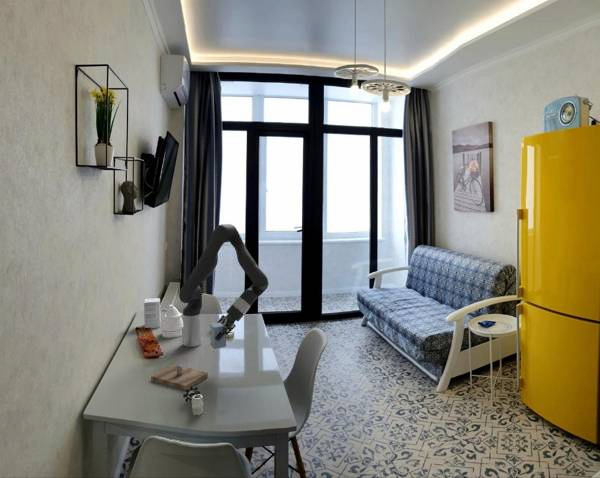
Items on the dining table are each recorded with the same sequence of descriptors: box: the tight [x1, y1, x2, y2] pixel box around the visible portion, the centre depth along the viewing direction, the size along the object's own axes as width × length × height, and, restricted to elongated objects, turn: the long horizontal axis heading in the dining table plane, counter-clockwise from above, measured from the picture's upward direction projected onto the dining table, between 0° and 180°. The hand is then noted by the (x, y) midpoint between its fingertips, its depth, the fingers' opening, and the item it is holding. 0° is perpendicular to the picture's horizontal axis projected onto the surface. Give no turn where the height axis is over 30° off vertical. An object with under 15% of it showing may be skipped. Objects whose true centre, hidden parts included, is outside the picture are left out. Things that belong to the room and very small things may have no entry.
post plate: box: [150, 364, 209, 391], centre depth 174 cm, size 20×14×6 cm
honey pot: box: [161, 304, 183, 339], centre depth 232 cm, size 13×13×18 cm
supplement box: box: [143, 297, 162, 329], centre depth 246 cm, size 10×9×17 cm
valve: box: [182, 386, 204, 416], centre depth 149 cm, size 7×7×12 cm
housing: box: [209, 322, 227, 350], centre depth 181 cm, size 6×6×10 cm
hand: (214, 337), depth 181 cm, fingers closed on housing, 5 cm apart
